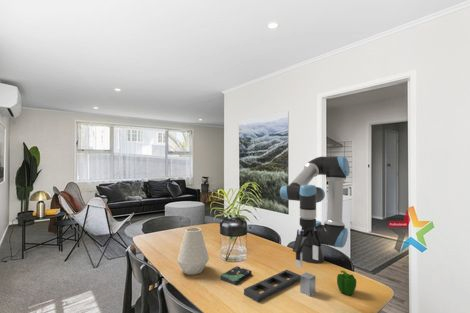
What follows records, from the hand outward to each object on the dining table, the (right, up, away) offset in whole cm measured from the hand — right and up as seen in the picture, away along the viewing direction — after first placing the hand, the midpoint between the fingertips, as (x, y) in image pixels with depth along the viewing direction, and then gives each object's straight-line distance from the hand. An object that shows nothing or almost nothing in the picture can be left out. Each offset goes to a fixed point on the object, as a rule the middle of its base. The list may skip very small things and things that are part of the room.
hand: (307, 263), depth 122 cm
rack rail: (-15, -14, +5) cm, 21 cm away
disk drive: (-34, -15, +16) cm, 40 cm away
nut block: (0, -14, 0) cm, 14 cm away
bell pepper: (+19, -14, 0) cm, 23 cm away
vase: (-58, -14, +24) cm, 64 cm away
